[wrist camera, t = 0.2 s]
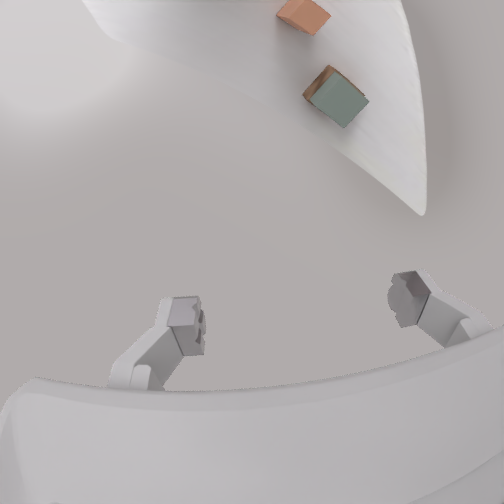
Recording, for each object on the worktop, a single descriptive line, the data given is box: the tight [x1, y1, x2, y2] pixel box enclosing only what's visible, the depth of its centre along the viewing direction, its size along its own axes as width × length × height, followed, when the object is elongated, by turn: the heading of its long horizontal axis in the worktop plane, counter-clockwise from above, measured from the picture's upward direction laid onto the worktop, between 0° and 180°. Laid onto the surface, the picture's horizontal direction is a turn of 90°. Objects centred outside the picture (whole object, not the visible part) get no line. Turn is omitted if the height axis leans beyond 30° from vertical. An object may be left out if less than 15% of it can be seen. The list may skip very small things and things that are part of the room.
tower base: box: [302, 65, 365, 106], centre depth 50 cm, size 9×9×4 cm
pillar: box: [276, 0, 331, 35], centre depth 34 cm, size 5×5×10 cm
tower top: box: [310, 72, 369, 128], centre depth 48 cm, size 8×8×4 cm
